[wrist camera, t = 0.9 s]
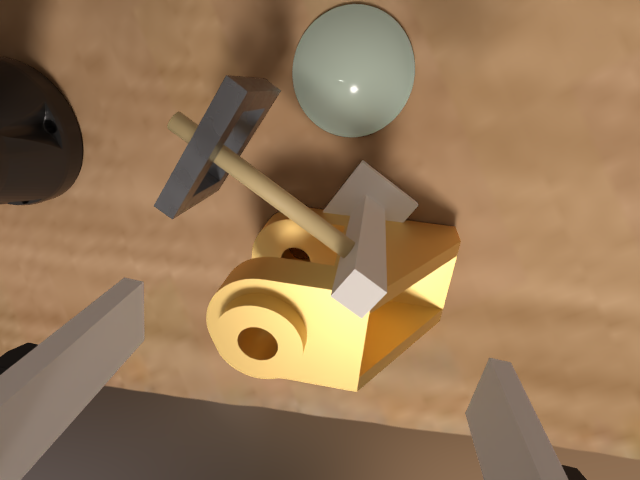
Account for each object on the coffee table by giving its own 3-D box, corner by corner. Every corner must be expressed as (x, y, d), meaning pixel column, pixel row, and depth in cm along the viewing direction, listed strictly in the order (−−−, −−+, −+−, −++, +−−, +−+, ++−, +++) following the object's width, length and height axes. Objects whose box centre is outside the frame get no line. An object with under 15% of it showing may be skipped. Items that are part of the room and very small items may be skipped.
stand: (222, 139, 39) (106, 177, 23) (258, 78, 37) (156, 71, 20) (373, 252, 41) (367, 362, 25) (417, 202, 39) (444, 289, 22)
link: (204, 180, 33) (153, 206, 26) (265, 78, 30) (226, 75, 22) (218, 190, 34) (172, 219, 26) (280, 90, 30) (247, 91, 22)
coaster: (271, 88, 37) (269, 88, 36) (340, -25, 33) (340, -26, 32) (362, 159, 38) (362, 160, 37) (441, 59, 34) (441, 58, 33)
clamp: (261, 275, 45) (201, 378, 31) (261, 201, 41) (193, 281, 27) (436, 302, 43) (458, 427, 28) (455, 226, 39) (492, 328, 24)
